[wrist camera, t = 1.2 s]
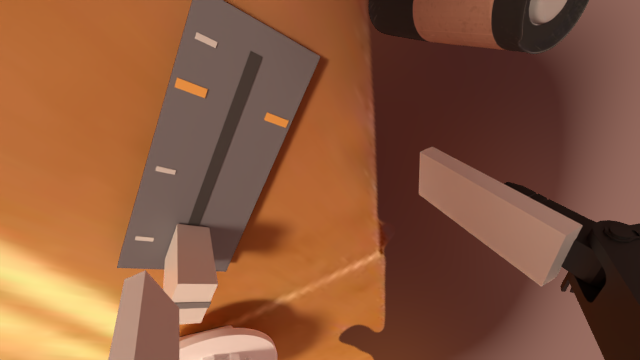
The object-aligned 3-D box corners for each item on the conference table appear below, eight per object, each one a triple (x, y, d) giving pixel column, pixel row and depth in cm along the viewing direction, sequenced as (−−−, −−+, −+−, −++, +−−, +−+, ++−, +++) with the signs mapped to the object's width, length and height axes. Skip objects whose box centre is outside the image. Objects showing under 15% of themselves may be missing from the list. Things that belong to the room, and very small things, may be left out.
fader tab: (164, 259, 37) (161, 326, 29) (176, 223, 35) (176, 284, 28) (196, 261, 39) (201, 324, 32) (209, 227, 38) (218, 285, 30)
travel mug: (412, -45, 34) (616, -93, 18) (418, 23, 38) (585, 31, 23) (360, -21, 33) (529, -49, 17) (372, 46, 37) (514, 71, 22)
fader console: (119, 256, 37) (116, 268, 35) (196, -14, 27) (197, -15, 25) (224, 262, 45) (226, 272, 43) (313, 54, 35) (321, 56, 33)
